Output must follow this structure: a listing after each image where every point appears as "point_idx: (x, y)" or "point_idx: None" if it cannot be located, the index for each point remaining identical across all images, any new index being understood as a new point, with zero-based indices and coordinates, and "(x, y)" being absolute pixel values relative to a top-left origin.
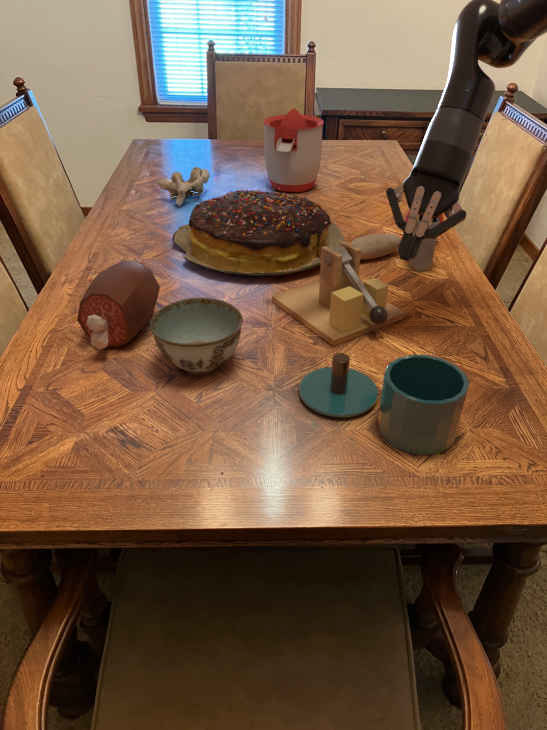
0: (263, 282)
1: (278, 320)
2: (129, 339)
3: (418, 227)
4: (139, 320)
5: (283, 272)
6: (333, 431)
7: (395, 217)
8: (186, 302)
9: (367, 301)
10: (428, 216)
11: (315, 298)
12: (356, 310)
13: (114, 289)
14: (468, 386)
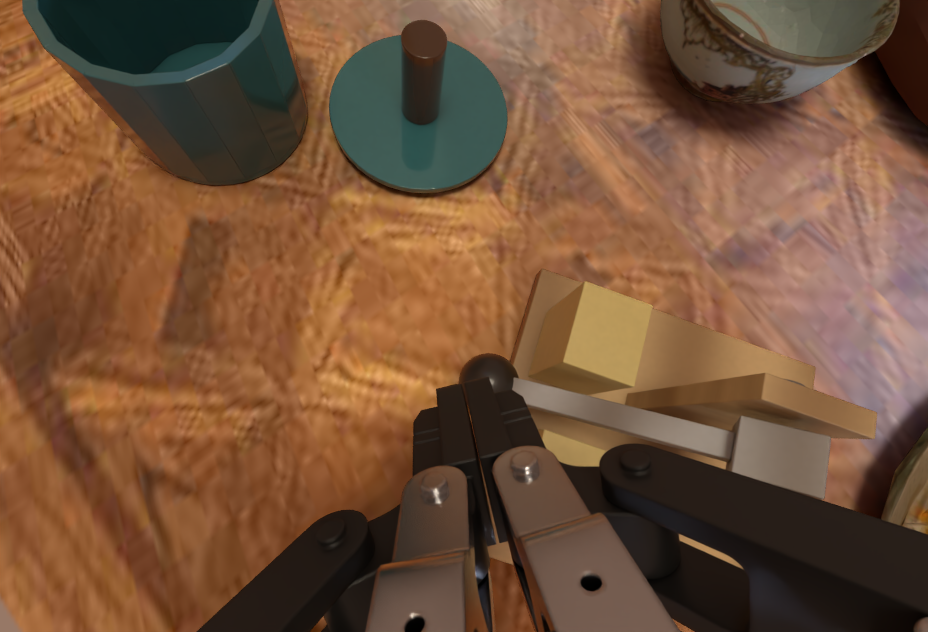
0: (897, 449)
1: (717, 297)
2: None
3: (465, 509)
4: (899, 15)
5: (896, 490)
6: (367, 27)
7: (693, 467)
8: (882, 24)
9: (544, 385)
10: (406, 596)
11: None
12: (551, 346)
13: None
14: (23, 4)
